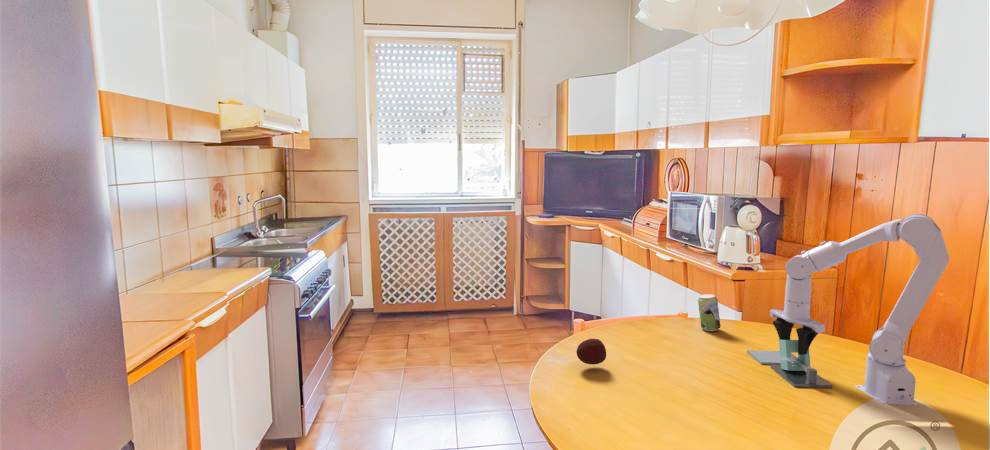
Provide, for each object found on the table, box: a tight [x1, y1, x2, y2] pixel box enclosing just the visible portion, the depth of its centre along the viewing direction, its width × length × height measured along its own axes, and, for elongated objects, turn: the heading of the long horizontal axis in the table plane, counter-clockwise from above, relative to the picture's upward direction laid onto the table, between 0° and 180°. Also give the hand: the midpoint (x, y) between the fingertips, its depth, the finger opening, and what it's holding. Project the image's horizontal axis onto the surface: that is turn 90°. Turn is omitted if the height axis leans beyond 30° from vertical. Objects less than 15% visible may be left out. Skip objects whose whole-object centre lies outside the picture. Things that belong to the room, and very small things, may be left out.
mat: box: [746, 349, 798, 366], centre depth 138 cm, size 9×12×1 cm
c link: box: [778, 339, 811, 371], centre depth 128 cm, size 3×6×8 cm, turn 89°
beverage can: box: [697, 293, 721, 332], centre depth 162 cm, size 6×7×12 cm
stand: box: [770, 353, 833, 389], centre depth 125 cm, size 12×9×4 cm
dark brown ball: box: [576, 338, 607, 365], centre depth 134 cm, size 7×8×7 cm
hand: (793, 350), depth 129 cm, fingers closed on c link, 5 cm apart
